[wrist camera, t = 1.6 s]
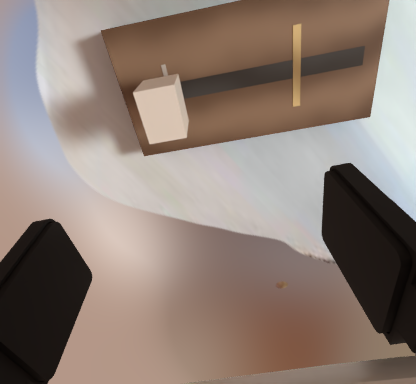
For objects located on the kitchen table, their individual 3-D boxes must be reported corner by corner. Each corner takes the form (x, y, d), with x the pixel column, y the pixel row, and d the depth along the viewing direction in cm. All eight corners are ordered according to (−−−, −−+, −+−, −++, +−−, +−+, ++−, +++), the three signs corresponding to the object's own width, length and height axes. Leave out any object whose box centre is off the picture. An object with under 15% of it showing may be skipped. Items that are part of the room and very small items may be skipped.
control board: (110, 28, 25) (100, 30, 23) (374, -29, 23) (395, -33, 21) (148, 144, 32) (144, 156, 29) (356, 108, 30) (370, 117, 27)
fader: (148, 74, 24) (132, 92, 19) (180, 68, 24) (174, 84, 19) (160, 117, 27) (149, 144, 21) (189, 111, 26) (186, 137, 21)
